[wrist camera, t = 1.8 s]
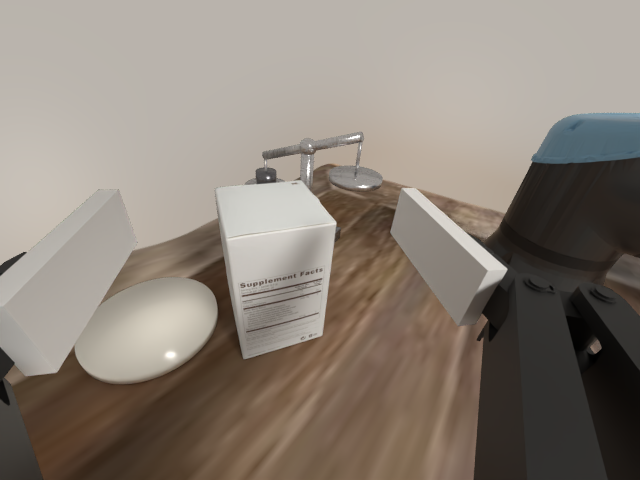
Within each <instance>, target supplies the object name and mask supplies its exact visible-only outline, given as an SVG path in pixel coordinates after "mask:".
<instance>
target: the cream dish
mask: <svg viewBox="0 0 640 480" xmlns="http://www.w3.org/2000/svg"><path fill="white" fill-rule="evenodd" d="M217 321H218V307H217V302H216V298H215V296H214V294H213V293H212V291H211V290H210V289H209V288H208V287H207V286H205V285H204V284H202V283H200V282H198V281H196V280H192V279H188V278H181V277H167V278H159V279H153V280H149V281H145V282H142V283H139V284H136V285H134V286H131V287H129V288H127V289H124V290H123V291H121V292H119V293H117V294H115V295H114V296H112V297H110V298H109V299H107V300H106V301H105V302H103V303H102V304H101V305H100V306H99V307H97V309H96V310H95V312H94V314H93V315H92V317H91V319H90V320H89V322H88V323H87V325H86V327H85V328H84V330H83V331H82V333H81V335H80V336H79V338H78V340H77V341H76V343H75V354H76V357H77V359H78V361H79V363H80V365H81V366H82V367H83V369H84V370H85V371H86V372H87V373H88V374H89V375H90V376H92V377H93V378H95V379H97V380H99V381H102V382H106V383H110V384H133V383H139V382H144V381H147V380H151V379H154V378H157V377H160V376H162V375H164V374H166V373H169V372H171V371H173V370H174V369H176V368H178V367H180V366H181V365H183V364H184V363H186V362H187V361H188V360H190V359H191V358H192V357H193V356H194V355H196V354H197V353H198V352H199V351H200V350H201V349H202V348H203V347H204V345H205V344H206V343H207V342H208V340H209V339H210V337H211V336H212V334H213V332H214V330H215V327H216V324H217Z"/></svg>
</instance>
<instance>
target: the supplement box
mask: <svg viewBox="0 0 640 480" xmlns="http://www.w3.org/2000/svg"><path fill="white" fill-rule="evenodd" d="M215 197H216V204H217V213H218V220H219V227H220V234H221V240H222V247H223V253H224V260H225V266H226V273H227V278H228V284H229V290H230V296H231V301H232V306H233V311H234V316H235V321H236V326H237V331H238V336H239V341H240V346H241V352H242V356H243V359H248V358H251V357H254V356H258V355H261V354H264V353H267V352H271V351H274V350H277V349H281V348H284V347H287V346H291V345H294V344H297V343H300V342H304V341H307V340H310V339H313V338H317V337H320V336H322V334H323V327H324V319H325V311H326V303H327V295H328V287H329V278H330V270H331V263H332V255H333V247H334V239H335V231H336V221H335V220H334V219H333V218H332V216H331V215H330V214H329V213H328V212H327V210H326V209H325V208H324V207H323V206H322V205H321V203H320V201H319V199H318V198H317V197H316V196H315V195H314V194H312V193H311V191H310V190H309V189H308V188H307V186H306V185H305V184H304V183H303V182H302V181H301V180H297V181H289V182H279V183H267V184H253V185H235V186H225V187H219V188H215Z"/></svg>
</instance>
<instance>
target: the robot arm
mask: <svg viewBox="0 0 640 480" xmlns="http://www.w3.org/2000/svg"><path fill="white" fill-rule="evenodd" d="M531 160H532V161H533V162H532V164H531V166H530V168H529V170H528V172H527V174H526V176H525V178H524V180H523V182H522V184H521V186H520V188H519V189H518V191H517V193H516V195H515V197H514V199H513V201H512V203H511V205H510V207H509V208H508V210H507V212H506V214H505V216H504V218H503V220H502V222H501V224H500V226H499V228H498V229H497V230H496V231H495V232H494V233H493V234H492V235H491V236H490V237H488V238H487V239H486V240H485V241H484V242H481V241H480V240H479V239H477V238H476V237H474V236H472V235H470V234H468V233H466V232H465V231H463V230H462V229H461V228H460V227H459V226H458V225H457V224H455V223H454V222H453V221H452V220H451V219H450V218H449V217H447V216H446V215H445V214H444V213H443V212H442V211H441V210H439V209H438V208H437V207H436V206H435V205H434V204H433V203H431V202H430V201H429V200H428V199H427V198H426V197H425V196H423V195H422V194H421V193H420V192H419V191H418V190H417V189H415V188H402V189H401V192H400V196H399V200H398V204H397V208H396V212H395V216H394V220H393V223H392V227H391V231H390V233H391V235H392V236H393V237H394V239H395V240H396V242H397V243H398V244H399V246H400V247H401V248H402V250H403V251H404V253H405V254H406V255H407V257H408V258H409V259H410V261H411V262H412V264H413V265H414V266H415V268H416V269H417V270H418V272H419V273H420V275H421V276H422V277H423V279H424V280H425V281H426V283H427V284H428V286H429V287H430V288H431V290H432V291H433V292H434V294H435V295H436V297H437V298H438V299H439V301H440V302H441V303H442V305H443V306H444V308H445V309H446V310H447V312H448V313H449V314H450V316H451V317H452V319H453V320H454V321H455V323H456V324H457V325H458V326H464V325H472V324H476V322H477V321H478V319H479V317H480V316H481V314H482V313H483V314H484V316H485V317H486V318H487V319H488V321H487V323H486V325H485V326H484V328H483V329H482V331H481V333H480V334H479V336H478V338H477V341H480V340H481V338H483V337H484V341H483V355H482V369H481V383H480V397H479V412H478V426H477V440H476V454H475V468H474V480H640V316H639V315H638V314H637V313H636V311H635V310H634V309H633V308H632V307H631V306H630V305H629V304H628V303H627V301H626V300H624V299H623V298H622V297H621V296H620V295H618V294H617V293H615V292H613V290H611V289H609V288H606V287H605V286H603V285H604V282H605V278H606V274H607V272H608V271H609V269H610V268H611V267H612V266H613V265H614V264H615V262H616V261H617V260H618V259H619V258H620V257H621V256H622V255H623V254H629V255H632V256H635V257H638V258H640V113H589V114H577V115H572V116H569V117H566V118H563V119H562V120H560V121H558V122H557V123H556V124H555V125H554V126H553V127H552V128H551V129H550V131H549V132H548V134H547V136H546V137H545V139H544V141H543V143H542V144H541V147H540V148H539V150H538V151H537V153H536V154H534V155H533V156H532V159H531ZM136 244H137V239H136V237H135V234H134V231H133V229H132V226H131V223H130V220H129V217H128V214H127V211H126V208H125V206H124V203H123V200H122V197H121V194H120V191H119V190H97V191H96V192H95V193H94V194H93V195H92V196H91V197H89V198H88V199H87V200H86V201H85V202H84V203H83V204H82V205H80V206H79V207H78V208H77V209H76V210H75V211H74V212H72V213H71V214H70V215H69V216H68V217H67V218H66V219H65V220H63V221H62V222H61V223H60V224H59V225H58V226H57V227H56V228H54V229H53V230H52V231H51V232H50V233H49V234H48V235H47V236H45V237H44V238H43V239H42V240H41V241H40V242H38V243H37V244H36V245H35V246H34V247H33V248H32V249H31V250H29V251H28V252H23V253H21V254H19V255H17V256H15V257H13V258H12V259H10V260H8V261H6V262H4V263H3V264H2V265H1V266H0V480H43V477H42V474H41V471H40V468H39V466H38V463H37V460H36V457H35V454H34V451H33V448H32V445H31V442H30V439H29V436H28V433H27V430H26V427H25V424H24V422H23V419H22V416H21V413H20V410H19V407H18V404H17V401H16V398H15V395H14V392H13V389H12V386H11V384H10V383H9V382H8V381H7V380H6V379H5V378H4V377H5V375H6V374H7V373H8V371H9V370H10V369H11V368H12V366H13V365H15V366H16V367H17V368H18V369H19V370H20V371H21V372H22V373H23V374H24V375H25V376H33V375H41V374H50V373H57V372H58V370H59V369H60V367H61V365H62V364H63V362H64V361H65V359H66V357H67V356H68V354H69V352H70V351H71V349H72V348H73V346H74V344H75V343H76V341H77V340H78V338H79V336H80V335H81V333H82V331H83V330H84V328H85V327H86V325H87V323H88V322H89V320H90V319H91V317H92V315H93V314H94V312H95V310H96V309H97V307H98V306H99V304H100V302H101V301H102V299H103V298H104V296H105V294H106V293H107V291H108V289H109V288H110V286H111V285H112V283H113V281H114V280H115V278H116V277H117V275H118V273H119V272H120V270H121V269H122V267H123V265H124V264H125V262H126V260H127V259H128V257H129V256H130V254H131V252H132V251H133V249H134V247H135V246H136ZM597 339H598V340H599V342H600V344H601V347H602V349H601V350H600V351H599V352H598V353H596V354H594V353H593V351H592V350H591V348H590V346H591V345H592V344H593V343H594V342H595V341H596V340H597Z"/></svg>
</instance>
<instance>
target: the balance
mask: <svg viewBox="0 0 640 480" xmlns="http://www.w3.org/2000/svg"><path fill="white" fill-rule="evenodd" d="M363 140H364V136H363V133H362V132H357V133H352V134H347V135H342V136H338V137H333V138H328V139H323V140H318V141H314V140H313V139H310V138H305V139H303V140H302V141H301V142H300V144H299V145H294V146H289V147H284V148H279V149H274V150H269V151H265V152H263V155H262V156H263V158H264V166H265V168H259V169H257V170H256V178H255V179H251V180H249V181H247V182H246V183H245V185H253V184H267V183H279V182H285V181H283V180H281V179H278V178H276V170H275V169H273V168H267V159H271V158H278V157H283V156H288V155H294V154H299V153H301V175H300V180H301V181H302V182H303V183H304V184H305V185H306V186H307V188H308V189H309V190H310V191H311V193H312V182H313V164H314V153H315V152H316V150H321V149H327V148H332V147H337V146H343V145H349V144H354V143H359V146H358V153H357V160H356V166H339V167H335V168H333V169H331V170H330V172H329V181H330V182H331V183H332V184H333V185H335V186H337V187H339V188H342V189H345V190H350V191H358V192H367V191H373V190H376V189H378V188H380V187H381V184H382V179H383V178H382V176H381V175H380V174H379V173H378V172H376V171H374V170H371V169H368V168H364V167H359V161H360V154H361V148H362V142H363ZM340 231H341V228H340V227H337V226H336V231H335V239H334V243H335V242H336V241H337V240H338V239H339V238H340Z"/></svg>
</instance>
